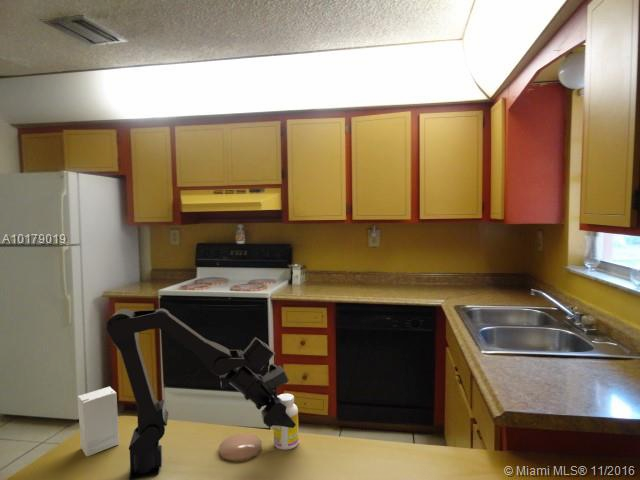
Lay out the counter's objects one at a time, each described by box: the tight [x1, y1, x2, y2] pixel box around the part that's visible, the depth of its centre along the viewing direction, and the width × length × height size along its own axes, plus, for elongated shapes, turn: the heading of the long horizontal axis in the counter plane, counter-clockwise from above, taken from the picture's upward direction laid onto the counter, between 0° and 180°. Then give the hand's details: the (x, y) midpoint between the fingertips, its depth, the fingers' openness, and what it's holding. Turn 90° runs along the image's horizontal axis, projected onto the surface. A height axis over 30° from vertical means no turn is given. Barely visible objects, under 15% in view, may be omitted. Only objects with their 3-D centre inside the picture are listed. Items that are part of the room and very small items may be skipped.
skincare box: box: [77, 385, 120, 457], centre depth 106 cm, size 8×6×15 cm
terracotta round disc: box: [218, 433, 263, 462], centre depth 104 cm, size 11×11×1 cm
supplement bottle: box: [273, 393, 300, 451], centre depth 106 cm, size 7×7×13 cm
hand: (290, 418), depth 107 cm, fingers open, 9 cm apart
